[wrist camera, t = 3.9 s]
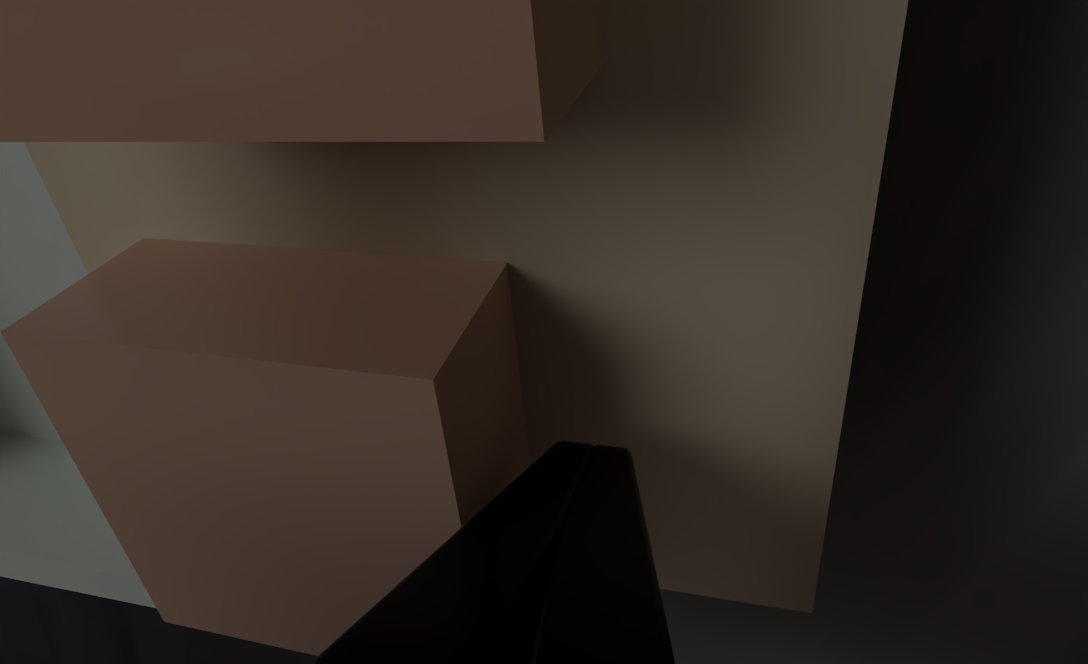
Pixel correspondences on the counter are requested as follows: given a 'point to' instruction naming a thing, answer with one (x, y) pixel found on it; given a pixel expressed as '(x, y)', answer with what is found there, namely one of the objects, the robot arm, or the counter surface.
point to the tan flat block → (615, 255)
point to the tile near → (294, 69)
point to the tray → (44, 414)
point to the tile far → (280, 421)
